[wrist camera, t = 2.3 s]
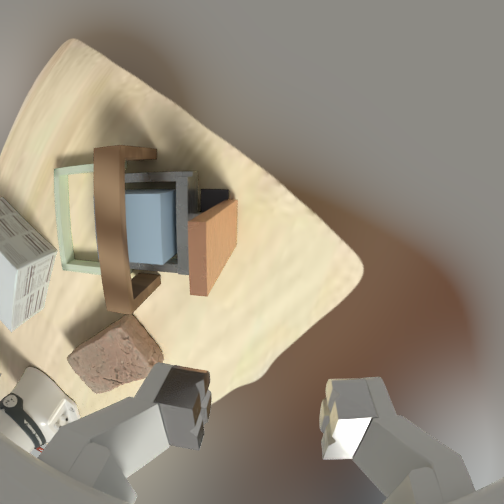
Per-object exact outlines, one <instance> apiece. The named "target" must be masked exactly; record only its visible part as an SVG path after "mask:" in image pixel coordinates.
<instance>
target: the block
mask: <svg viewBox="0 0 504 504" xmlns="http://www.w3.org/2000/svg"><path fill="white" fill-rule="evenodd" d="M125 209H126V229H127V243H128V255H129V262H135V263H147V264H158V265H163V264H164V263H166V262H167V261H168V260H169V259H170V258H172V257H173V256H174V255H175V254H176V253H177V229H176V189H135V190H125ZM94 214H95V205H94ZM95 228H96V222H95ZM96 240H97V234H96ZM97 250H98V245H97ZM98 259H99V254H98Z"/></svg>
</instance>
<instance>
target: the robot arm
mask: <svg viewBox="0 0 504 504" xmlns="http://www.w3.org/2000/svg"><path fill="white" fill-rule="evenodd" d="M209 384H210V373H209V372H208V371H205V370H199V369H193V368H188V367H182V366H177V365H170V364H165V363H160V362H158V363H156V364H155V365H154V366H153V368H152V369H151V371H150V372H149V374H148V376H147V377H146V379H145V380H144V382H143V384H142V385H141V387H140V389H139V390H138V392H137V393H136V395H135V397H134V398H133V397H127V398H125V399H123V400H121V401H119V402H117V403H114V404H112V405H110V406H108V407H106V408H103V409H101V410H99V411H96V412H94V413H92V414H90V415H87V416H85V417H83V418H80V415H79V411H78V408H77V405H76V403H75V402H74V401H73V400H71V399H70V398H69V397H68V396H67V395H65V394H64V393H63V392H62V390H61V389H60V388H59V387H58V386H57V385H56V384H55V383H54V382H53V381H52V380H51V379H50V378H49V377H48V376H47V375H45V374H44V373H43V372H41V371H40V370H38V369H36V368H33V367H27V368H26V369H25V371H24V373H23V375H22V377H21V379H20V380H19V382H18V383H17V385H16V386H15V387H14V389H13V390H12V392H11V393H10V394H9V395H7V396H6V397H4V398H3V399H2V400H1V401H0V504H134V502H135V500H136V497H137V494H136V493H135V491H134V489H133V488H132V486H131V485H130V483H129V482H128V480H127V479H126V478H127V477H128V476H130V475H131V474H133V473H134V472H136V471H137V470H138V469H140V468H141V467H143V466H144V465H146V464H147V463H148V462H150V461H151V460H152V459H154V458H155V457H157V456H158V455H159V454H161V453H162V452H163V451H165V450H166V449H167V448H168V447H169V445H172V446H177V447H182V448H188V449H193V450H199V449H200V446H201V443H202V439H203V436H204V424H206V423H207V422H208V419H209V416H210V410H211V392H210V391H209V390H208V387H209ZM320 430H321V431H322V432H323V433H324V435H323V438H322V441H321V443H322V454H323V459H350V458H353V459H352V460H353V461H354V462H355V463H356V464H357V465H358V467H359V468H360V469H361V470H362V471H363V472H364V473H365V474H366V476H368V478H369V479H370V480H371V481H372V482H373V483H374V484H375V485H376V486H377V487H378V489H379V490H380V491H381V492H382V493H383V494H384V495H385V496H386V497H387V499H386V500H385V501H384V502H383V503H382V504H504V477H503V478H501V479H499V480H498V481H496V482H494V483H492V484H490V485H488V486H486V487H484V488H481V489H479V490H477V491H475V488H474V486H473V483H472V480H471V478H470V476H469V473H468V471H467V468H466V466H465V464H464V461H463V459H462V457H461V455H459V454H458V453H456V452H454V451H453V450H452V449H450V448H449V447H447V446H446V445H444V444H442V443H441V442H440V441H438V440H437V439H435V438H434V437H432V436H430V435H429V434H428V433H426V432H425V431H423V430H422V429H420V428H419V427H418V426H416V425H415V424H413V423H412V422H410V421H409V420H407V419H406V418H405V417H403V416H397V415H396V412H395V410H394V407H393V404H392V402H391V399H390V397H389V394H388V392H387V390H386V387H385V385H384V382H383V380H382V378H380V377H370V378H358V379H329V380H328V382H327V385H326V398H325V399H323V400H322V405H321V410H320ZM45 443H48V444H47V446H46V447H45V449H43V448H41V447H40V446H42V445H44V444H45ZM33 449H36V450H38V451H40V450H39V449H41V450H43V451H40V452H41V454H40V455H39V457H38V458H36V457H35V456H33V455H32V454H30V453H31V452H32V450H33Z"/></svg>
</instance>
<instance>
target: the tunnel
mask: <svg viewBox="0 0 504 504" xmlns="http://www.w3.org/2000/svg"><path fill="white" fill-rule="evenodd" d="M152 159H157V149H153V148H144V147H135V146H125V145H115V146H107V147H100V148H94V205H95V222H96V234H97V245H98V254H99V262H100V270H101V277H102V284H103V290H104V296H105V302H106V307H107V311H112V312H117V313H123V314H129V315H131V314H132V313H133V312H134V311H135V310H136V309H137V308H138V307H139V306H140V305H141V304H142V303H143V302H144V301H145V300H146V299H147V298H148V297H149V296H150V295H151V294H152V292H153V291H154V290H155V289H156V288H157V287H158V286H159V285H160V284H161V279H160V275H155V274H145V273H138V274H137V275H136V276H135V277H133V278H132V279H131V275H130V266H129V255H128V243H127V229H126V209H125V161H136V160H152Z"/></svg>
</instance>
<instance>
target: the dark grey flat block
mask: <svg viewBox="0 0 504 504" xmlns="http://www.w3.org/2000/svg"><path fill="white" fill-rule="evenodd" d="M228 192H229V190H221V189H201V212H205V211H207V210H208V209H210V208H212V207H214V206H215V205H217V204H219V203H221V202H223V201H224V200H226V199H228Z"/></svg>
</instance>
